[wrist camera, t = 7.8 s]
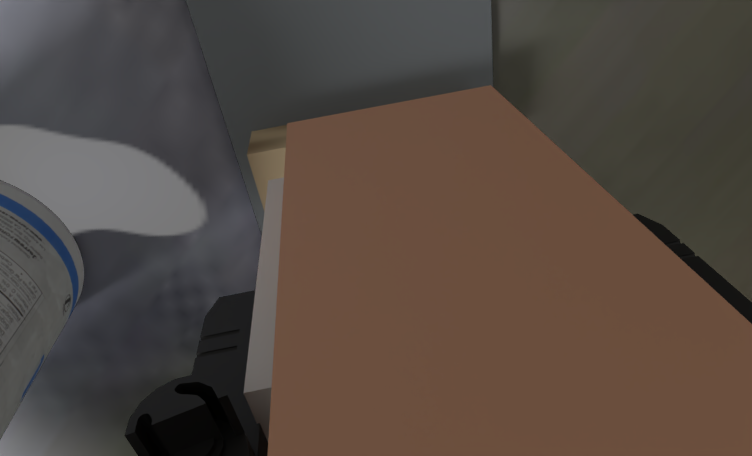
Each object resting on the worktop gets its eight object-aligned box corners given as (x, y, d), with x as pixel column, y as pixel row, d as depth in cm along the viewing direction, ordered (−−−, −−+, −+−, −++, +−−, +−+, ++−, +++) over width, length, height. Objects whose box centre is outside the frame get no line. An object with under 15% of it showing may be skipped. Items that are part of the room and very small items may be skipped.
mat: (298, 345, 30) (298, 350, 30) (113, -234, 16) (109, -237, 16) (496, 305, 31) (498, 309, 30) (479, -294, 17) (483, -299, 16)
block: (328, 284, 15) (390, 1108, 5) (287, 123, 12) (220, 1235, 2) (495, 251, 15) (914, 984, 5) (490, 85, 12) (1420, 938, 2)
